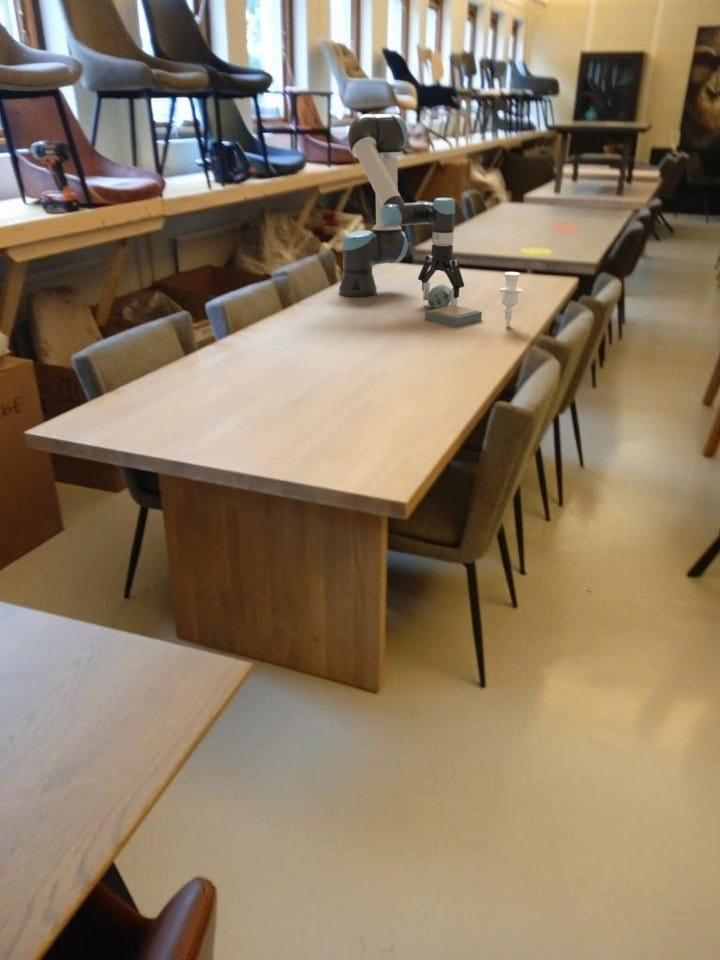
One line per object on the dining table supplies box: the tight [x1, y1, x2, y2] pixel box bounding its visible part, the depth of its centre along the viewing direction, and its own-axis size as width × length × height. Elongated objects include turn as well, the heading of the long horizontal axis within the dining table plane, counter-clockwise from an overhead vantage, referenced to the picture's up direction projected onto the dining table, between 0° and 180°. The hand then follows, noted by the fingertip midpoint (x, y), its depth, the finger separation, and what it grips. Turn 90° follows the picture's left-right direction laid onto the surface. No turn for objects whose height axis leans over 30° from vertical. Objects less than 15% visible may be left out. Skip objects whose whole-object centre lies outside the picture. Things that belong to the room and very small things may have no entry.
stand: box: [424, 304, 483, 328], centre depth 262 cm, size 14×14×3 cm
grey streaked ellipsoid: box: [427, 284, 452, 310], centre depth 277 cm, size 14×10×10 cm
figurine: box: [498, 271, 523, 328], centre depth 250 cm, size 10×8×18 cm
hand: (439, 303), depth 278 cm, fingers open, 13 cm apart
